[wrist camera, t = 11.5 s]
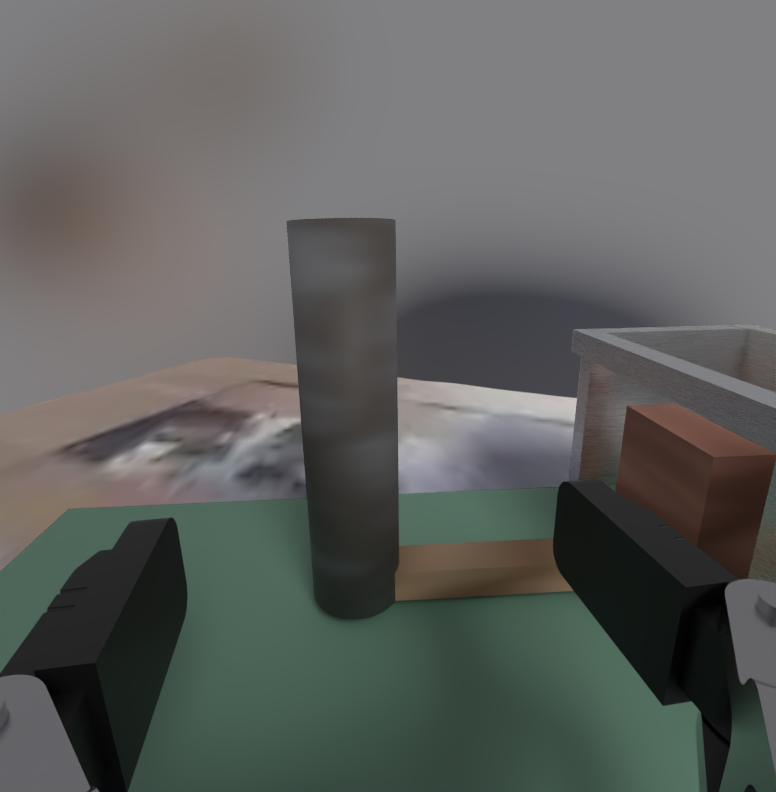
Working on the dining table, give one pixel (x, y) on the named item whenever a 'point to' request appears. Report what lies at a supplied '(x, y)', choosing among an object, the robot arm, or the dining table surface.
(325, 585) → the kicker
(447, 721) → the board
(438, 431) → the dining table surface
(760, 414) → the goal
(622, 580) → the robot arm
